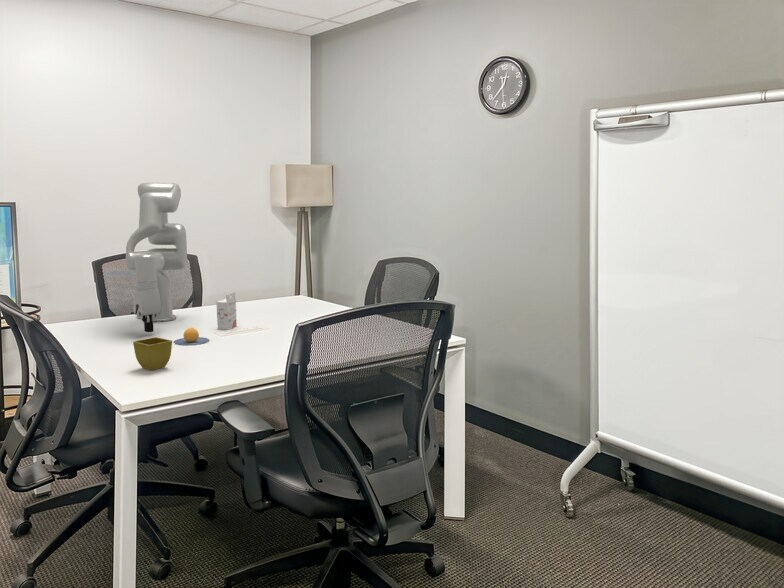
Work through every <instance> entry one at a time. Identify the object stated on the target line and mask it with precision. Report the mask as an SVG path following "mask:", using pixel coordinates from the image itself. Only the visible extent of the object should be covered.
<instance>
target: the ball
mask: <svg viewBox="0 0 784 588" xmlns="http://www.w3.org/2000/svg"><path fill="white" fill-rule="evenodd" d="M199 335H200V333H199V331H198V330H197V329H196V328H194V327H190V328H187V329H185V330H184V332H183V338H184V339H185V340H186V341H187V342H195V341H196V340H197V339H198V337H200V336H199Z"/></svg>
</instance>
